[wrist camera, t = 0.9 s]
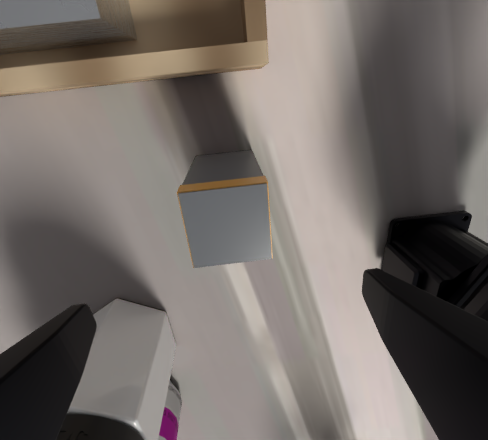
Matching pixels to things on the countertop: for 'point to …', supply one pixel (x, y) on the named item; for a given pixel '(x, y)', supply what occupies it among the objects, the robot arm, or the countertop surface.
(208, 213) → the block
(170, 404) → the supplement can
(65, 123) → the countertop surface
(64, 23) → the socket
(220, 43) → the oak box
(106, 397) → the jar
